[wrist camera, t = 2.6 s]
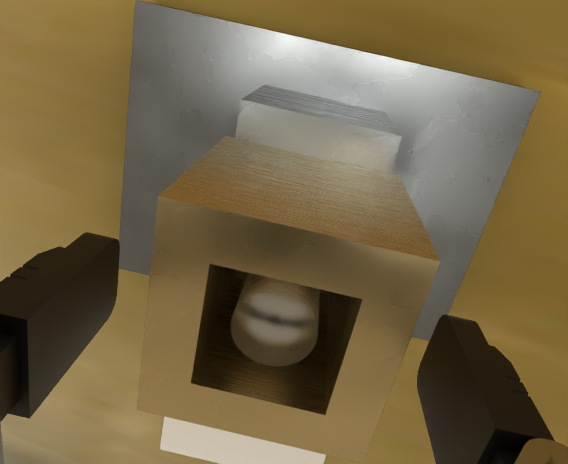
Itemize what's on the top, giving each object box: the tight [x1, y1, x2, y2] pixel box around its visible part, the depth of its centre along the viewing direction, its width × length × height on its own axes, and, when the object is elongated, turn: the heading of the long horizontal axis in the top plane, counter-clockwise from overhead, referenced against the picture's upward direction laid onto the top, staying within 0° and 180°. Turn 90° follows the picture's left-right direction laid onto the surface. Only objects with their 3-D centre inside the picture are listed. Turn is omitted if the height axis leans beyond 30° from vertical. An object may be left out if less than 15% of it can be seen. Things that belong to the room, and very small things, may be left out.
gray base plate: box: [119, 0, 541, 366], centre depth 16 cm, size 16×12×12 cm
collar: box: [137, 136, 440, 463], centre depth 13 cm, size 6×6×6 cm
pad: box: [160, 416, 326, 464], centre depth 27 cm, size 10×10×1 cm
